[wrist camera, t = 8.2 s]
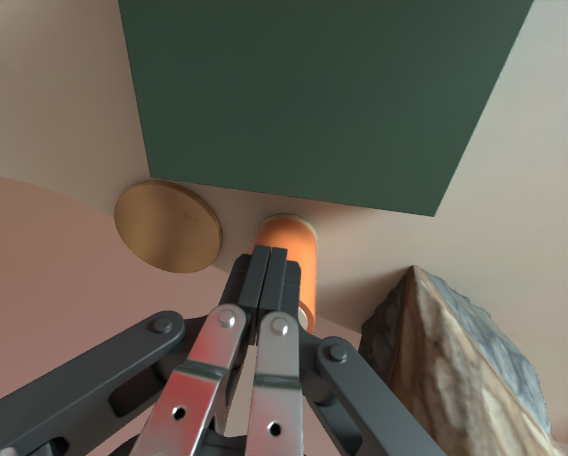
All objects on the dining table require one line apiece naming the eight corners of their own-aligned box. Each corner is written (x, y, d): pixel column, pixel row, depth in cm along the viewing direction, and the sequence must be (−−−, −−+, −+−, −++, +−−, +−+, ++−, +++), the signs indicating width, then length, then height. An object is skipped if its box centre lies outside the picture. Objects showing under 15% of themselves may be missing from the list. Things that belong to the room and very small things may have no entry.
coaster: (131, 260, 30) (127, 265, 29) (107, 173, 24) (101, 176, 24) (223, 274, 30) (221, 280, 29) (220, 188, 24) (217, 193, 23)
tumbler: (260, 220, 29) (244, 327, 27) (242, 185, 19) (214, 353, 17) (318, 227, 29) (305, 336, 27) (332, 196, 18) (313, 368, 16)
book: (171, 160, 23) (150, 177, 20) (138, -90, 15) (95, -120, 12) (420, 194, 22) (434, 217, 19) (520, -52, 14) (570, -75, 12)
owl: (509, 321, 29) (763, 708, 12) (412, 371, 35) (491, 666, 19) (417, 260, 26) (582, 656, 9) (331, 327, 32) (338, 629, 16)
